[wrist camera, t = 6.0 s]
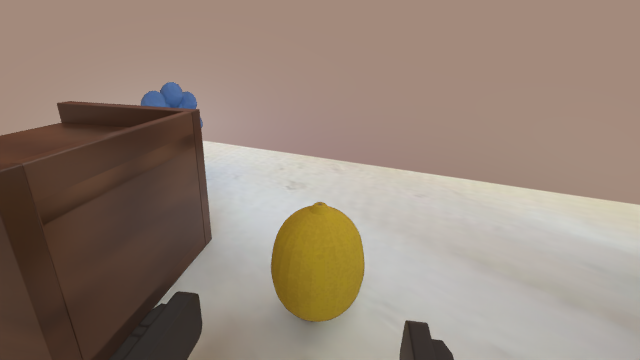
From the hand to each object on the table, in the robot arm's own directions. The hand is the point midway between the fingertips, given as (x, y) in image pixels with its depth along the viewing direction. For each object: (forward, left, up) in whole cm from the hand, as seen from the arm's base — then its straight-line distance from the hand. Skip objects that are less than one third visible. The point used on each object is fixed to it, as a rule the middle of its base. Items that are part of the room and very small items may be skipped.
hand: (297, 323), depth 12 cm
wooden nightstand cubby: (+3, -17, -6) cm, 18 cm away
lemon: (-6, -4, -6) cm, 9 cm away
